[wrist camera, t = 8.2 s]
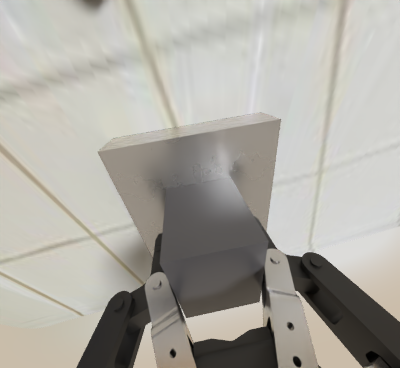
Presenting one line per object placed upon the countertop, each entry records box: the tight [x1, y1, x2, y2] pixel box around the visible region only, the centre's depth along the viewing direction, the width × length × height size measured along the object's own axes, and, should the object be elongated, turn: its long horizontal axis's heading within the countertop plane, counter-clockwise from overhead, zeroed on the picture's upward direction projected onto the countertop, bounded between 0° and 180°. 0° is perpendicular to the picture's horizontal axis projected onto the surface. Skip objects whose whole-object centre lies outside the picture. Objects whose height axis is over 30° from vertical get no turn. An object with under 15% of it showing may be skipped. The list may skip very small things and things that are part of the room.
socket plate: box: [98, 112, 281, 258], centre depth 15 cm, size 12×14×3 cm
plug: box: [160, 177, 269, 318], centre depth 13 cm, size 5×8×8 cm, turn 8°
